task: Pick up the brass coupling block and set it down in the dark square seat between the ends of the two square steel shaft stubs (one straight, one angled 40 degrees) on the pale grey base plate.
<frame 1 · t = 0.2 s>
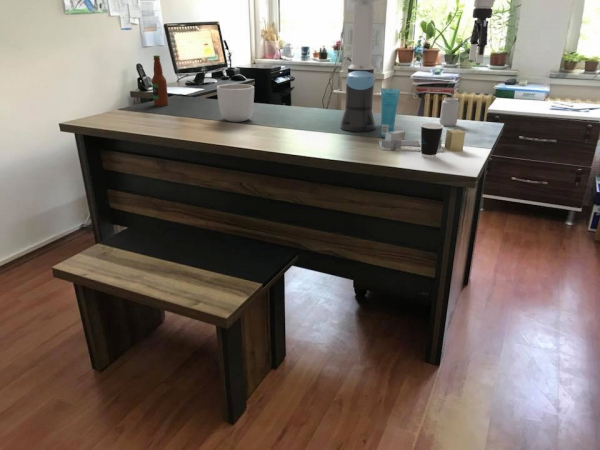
hand: (475, 61, 214), 28 cm above the table, fingers open, 13 cm apart
can: (447, 125, 226), on the table
bottle: (161, 105, 264), on the table
dixie cup: (428, 156, 178), on the table
planter: (236, 120, 231), on the table
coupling: (453, 149, 186), on the table
tube: (386, 136, 204), on the table
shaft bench: (409, 145, 192), on the table
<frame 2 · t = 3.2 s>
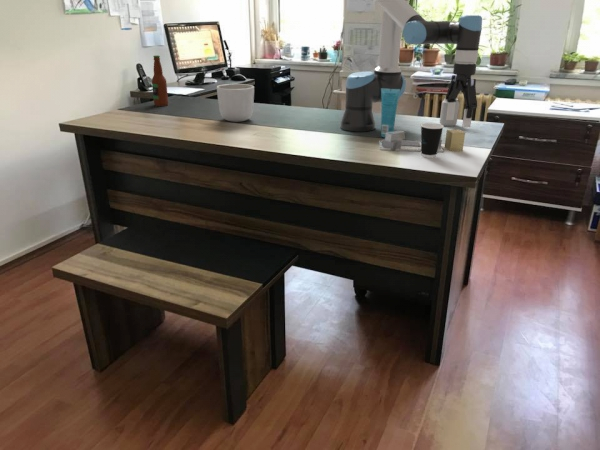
hand: (457, 123, 182), 10 cm above the table, fingers open, 13 cm apart
nothing on the table moved.
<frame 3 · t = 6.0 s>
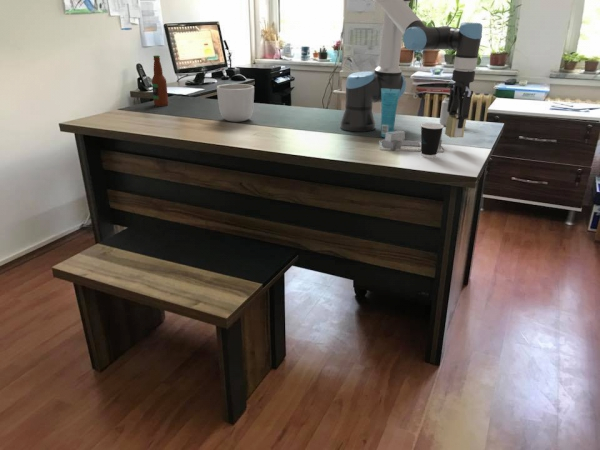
hand: (454, 134, 185), 6 cm above the table, fingers closed on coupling, 5 cm apart
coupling: (453, 135, 185), point 5 cm above the table, touching gripper
everything else where it was.
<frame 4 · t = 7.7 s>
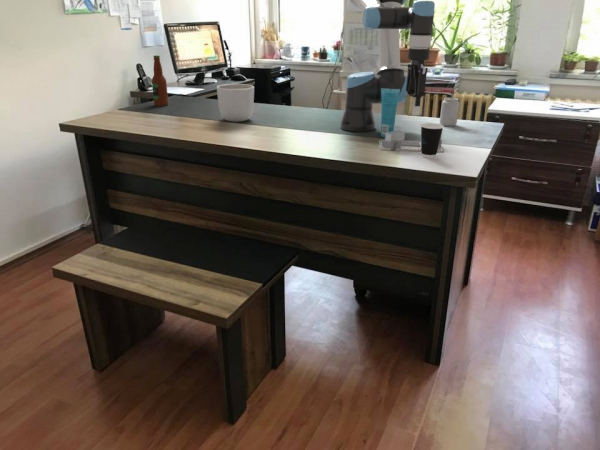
hand: (412, 113, 187), 12 cm above the table, fingers closed on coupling, 5 cm apart
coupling: (412, 114, 187), point 12 cm above the table, touching gripper
everything else where it was.
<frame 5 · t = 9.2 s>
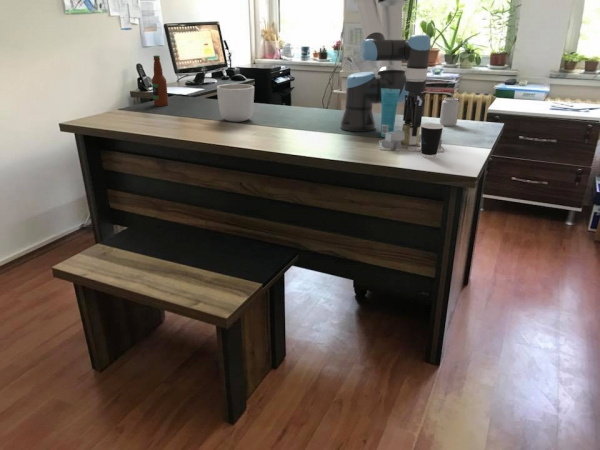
hand: (409, 142, 191), 1 cm above the table, fingers closed on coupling, 5 cm apart
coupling: (409, 143, 191), point 1 cm above the table, touching gripper, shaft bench
everything else where it was.
when the fingers open (1 cm above the table, at t = 9.2 s): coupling stays where it is, resting on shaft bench.
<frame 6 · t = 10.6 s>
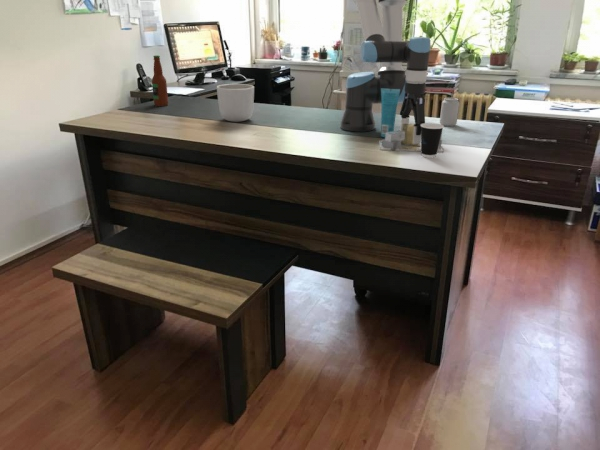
hand: (409, 139, 191), 2 cm above the table, fingers open, 13 cm apart
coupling: (409, 143, 191), point 1 cm above the table, touching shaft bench
everything else where it was.
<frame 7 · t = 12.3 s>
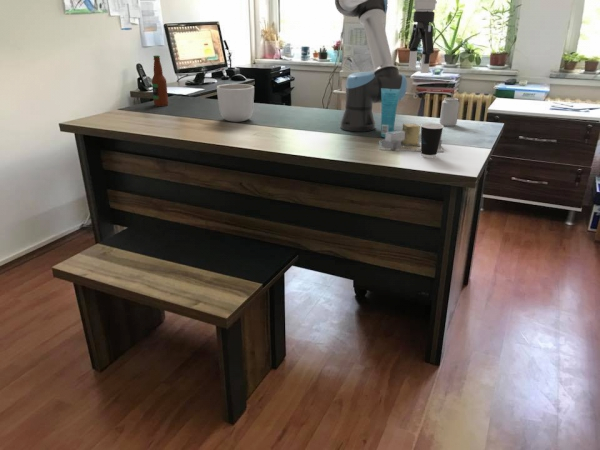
hand: (418, 70, 191), 26 cm above the table, fingers open, 13 cm apart
nothing on the table moved.
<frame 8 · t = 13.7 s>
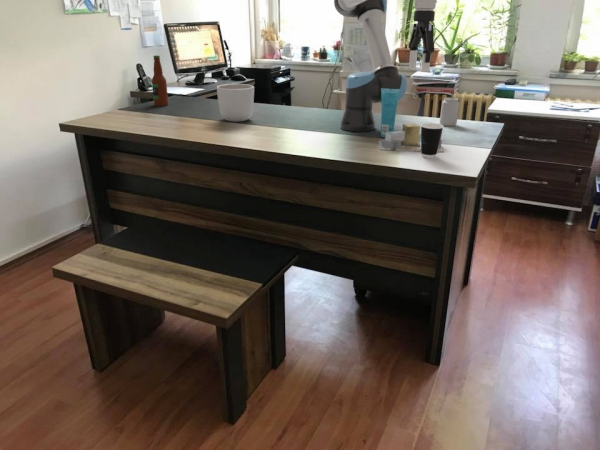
hand: (418, 69, 192), 27 cm above the table, fingers open, 13 cm apart
nothing on the table moved.
at the end: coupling 0.2 cm off-centre on the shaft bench, point 0.8 cm above the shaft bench's base; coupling tilted 0°; the gripper is holding nothing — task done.
